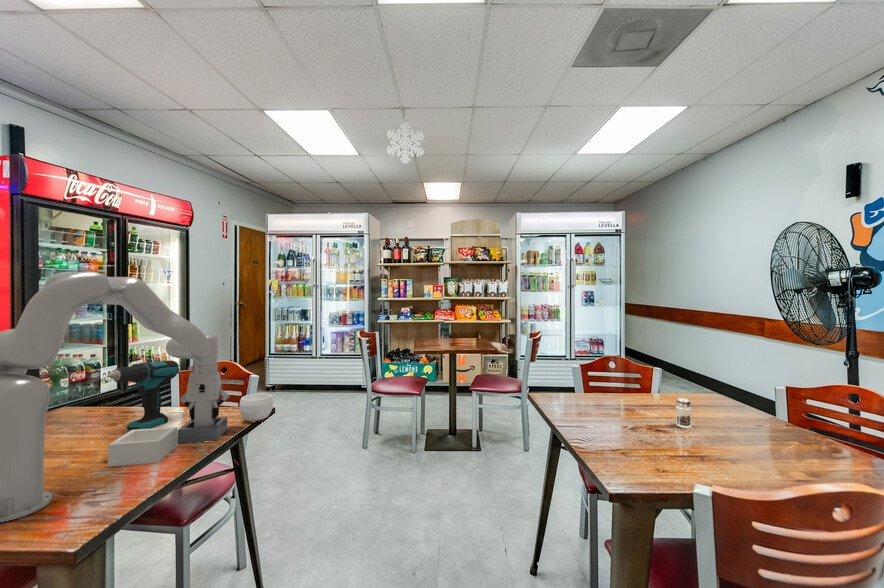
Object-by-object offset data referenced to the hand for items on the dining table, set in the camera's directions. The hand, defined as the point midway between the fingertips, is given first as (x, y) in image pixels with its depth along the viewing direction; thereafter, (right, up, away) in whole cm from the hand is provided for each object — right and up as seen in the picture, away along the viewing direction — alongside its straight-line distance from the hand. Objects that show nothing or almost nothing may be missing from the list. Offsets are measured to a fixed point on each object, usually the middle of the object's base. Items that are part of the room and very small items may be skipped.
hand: (204, 418), depth 135 cm
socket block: (0, -7, 0) cm, 7 cm away
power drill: (-29, -7, +9) cm, 31 cm away
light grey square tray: (-8, -6, -17) cm, 20 cm away
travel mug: (0, -7, 0) cm, 7 cm away
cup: (+9, -7, +19) cm, 22 cm away
